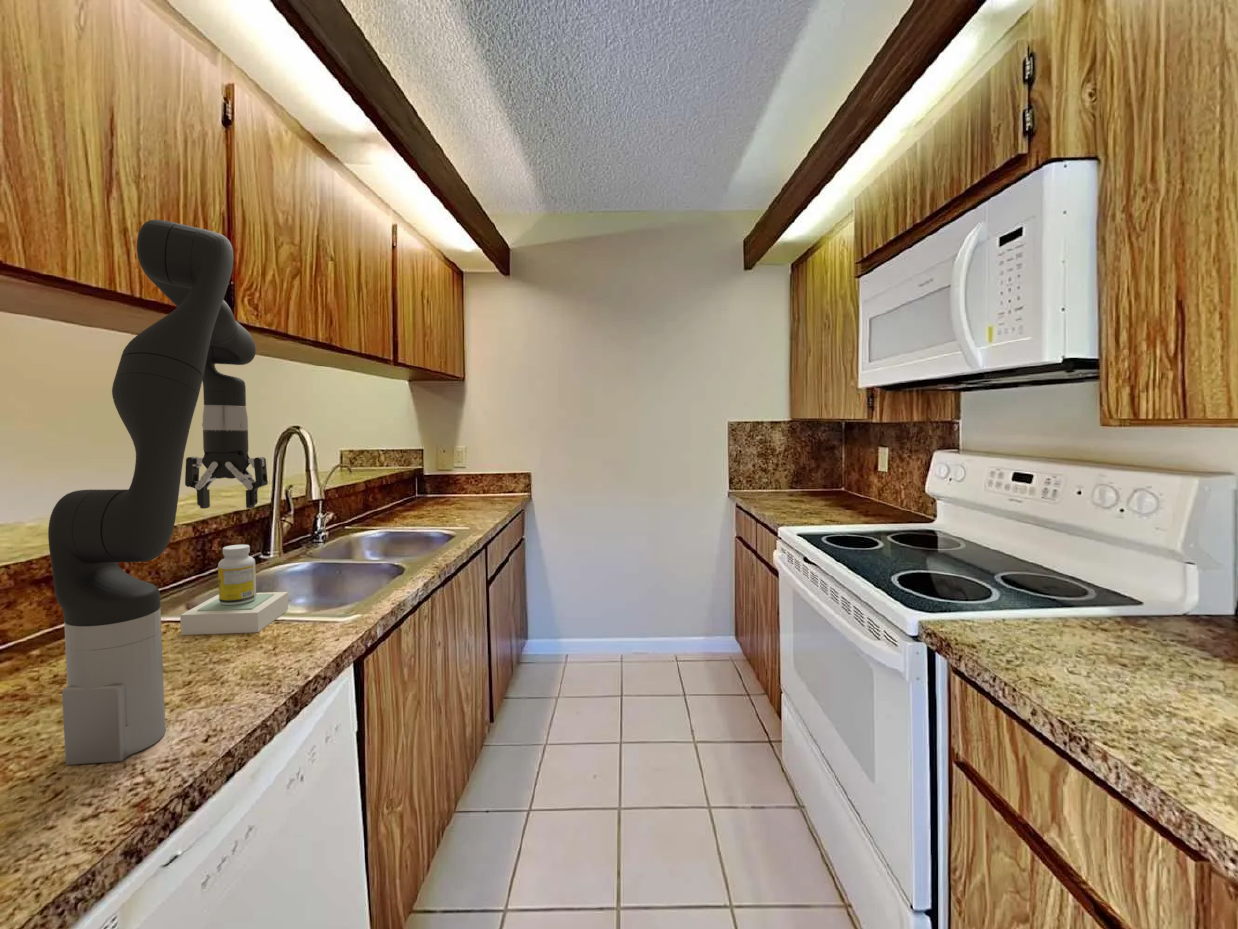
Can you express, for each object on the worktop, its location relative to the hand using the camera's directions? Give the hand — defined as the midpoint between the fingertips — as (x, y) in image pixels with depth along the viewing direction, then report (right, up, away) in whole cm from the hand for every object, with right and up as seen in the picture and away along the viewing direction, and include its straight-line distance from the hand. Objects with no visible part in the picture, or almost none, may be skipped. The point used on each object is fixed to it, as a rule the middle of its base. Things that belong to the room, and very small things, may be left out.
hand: (227, 507), depth 115 cm
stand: (0, -24, +3) cm, 24 cm away
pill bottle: (0, -20, +3) cm, 20 cm away
